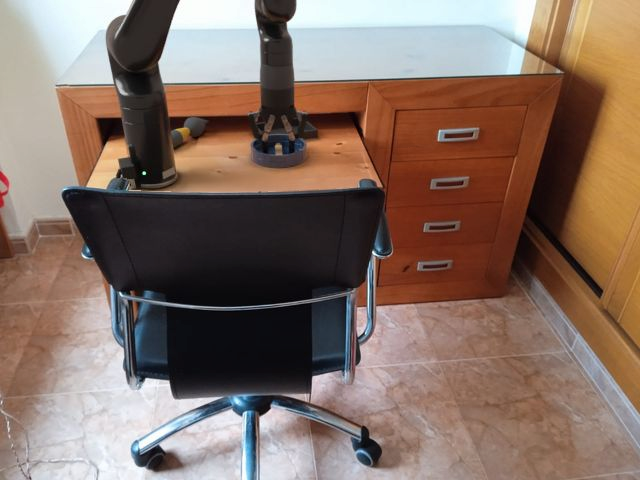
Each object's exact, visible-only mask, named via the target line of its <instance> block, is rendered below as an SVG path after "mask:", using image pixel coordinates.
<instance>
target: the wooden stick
mask: <svg viewBox="0 0 640 480" xmlns="http://www.w3.org/2000/svg"><path fill="white" fill-rule="evenodd" d="M275 155H282V145H280V143H276V145H275Z"/></svg>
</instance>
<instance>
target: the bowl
mask: <svg viewBox="0 0 640 480" xmlns="http://www.w3.org/2000/svg"><path fill="white" fill-rule="evenodd" d="M276 143H280V145H282V155H275V145H276ZM249 149H250V158H251V160H252V162H253V163H255V164H257V165H259V166H262V167H265V168H271V169H284V168H285V169H286V168H292V167H295V166H298V165H300V164H302V163H304V162H305V161H307V157H308V144H307V141H306V140H305V139H304V140H303V139H302V138H301V139H299V138H298V139H296V140H295V152H294V153H292V154H289V136H288V134H270V135H269V136H268V150H269V154H265V153H263V149H262V141H261V140H260V139H255V138H254V139H253V140H252V141H251V142H250V144H249Z"/></svg>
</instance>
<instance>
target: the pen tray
mask: <svg viewBox="0 0 640 480" xmlns="http://www.w3.org/2000/svg"><path fill="white" fill-rule="evenodd" d="M299 122H300V121H298V117H294V119H293V120H292V121H291V126H292V129H293V132H297V130H298V126H299ZM256 123H257V126H258V129H259V132H261V133H263V131H264V128H265V124H266V123H265V121H263V122H256ZM318 131H319V129H318V128H316V127H315V126H314V125H313V124H311V123H310V122H309V120H307V122H306V126H305V130H304V134H303V137H302V139H303V140H304V141H305V140H310V139H315V138H319V137H318V136H319V132H318ZM270 134H288V133H287V131H286V129H285V128H279V127H278V128H271V131H270V133H269V135H270Z"/></svg>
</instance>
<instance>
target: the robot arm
mask: <svg viewBox="0 0 640 480" xmlns="http://www.w3.org/2000/svg"><path fill="white" fill-rule="evenodd" d="M180 1H181V0H132V1H131V4H130V6H129V8H128V10H127V11H126V13H125V14H122V15H119V16H116V17H115V18H113V19H112V20H111V21H110V23H109V24H108V26H107V28H106V31H105V47H106V52H107V56H108V61H109V67H110V71H111V76H112V81H113V85H114V86H113V87H114V89H115V92H116V97H117V102H118V107H119V112H120V118H121V122H122V128H123V133H124V137H123V138H124V144H125V149H126V154H127V156H126V157H121V158H117V161H118V162H117V163H118V169H117V172H116V174H115V179H116V178H120V177H121V178H122V179H123V178H127V179H129V180H128V181H130V180H132V183H133V185H134V188H135V189H149V190H151V189H152V190H153V189H161V188H165V187H168V186H171V185H173V184H175V182H176V181H177V180H178V171H177V166H176V159H175V151H174V148H173V143H172V136H171V131H172V129H171V123H170V115H169V107H168V101H167V99H168V98H167V93H166V88H165V85H164V82H163V78H162V75H161V71H160V64H159V62H160V60H161V59H162V56H163V53H164V50H165V47H166V43H167V39H168V36H169V32H170V29H171V26H172V23H173V19H174V16H175V14H176V11H177V8H178V7H179V4H180ZM297 1H298V0H254V1H253V2H254V4H253V5H254V15H255V16H254V17H255V21H256V27H257V32H258V37H259V53H260V54H259V57H260V59H259V60H260V66H259V86H260V87H259V90H260V107H259V110H257V111H252V110H250V111H248V113H247V119H248V122H249V125H250V128H251V131H252V135H253V138H254V139H260V140H261V141H262V149H263V153H265V154H269V150H268V136H269V133H270V131H271V128H278V127H279V128H285V129H286V131H287V133H288V136H289V154H292V153H294V152H295V140H296V139H298V138H299V139H301V138H302V137H303V134H304V130H305V126H306V122H307V121H308V118H309V116H308V112H307V110H303V111H302V110H301V111H300V110H297V108H296V106H295V68H294V43H293V39H292V36H291V34H290V33H289V30H288V22H290V21H291V20H292V19H293V18H294V16H295V14H296V12H297V5H298V4H297ZM259 117H260V119H262V120H263V122H265V123H266V124H265V128H264V131H263V133H261V132H259V129H258V126H257V123H258V122H259ZM294 118H298V121H300V122H299V126H298V130H297V132H293V129H292V126H291V121H292V120H293V119H294ZM132 183H130V188H131V187H132Z"/></svg>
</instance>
